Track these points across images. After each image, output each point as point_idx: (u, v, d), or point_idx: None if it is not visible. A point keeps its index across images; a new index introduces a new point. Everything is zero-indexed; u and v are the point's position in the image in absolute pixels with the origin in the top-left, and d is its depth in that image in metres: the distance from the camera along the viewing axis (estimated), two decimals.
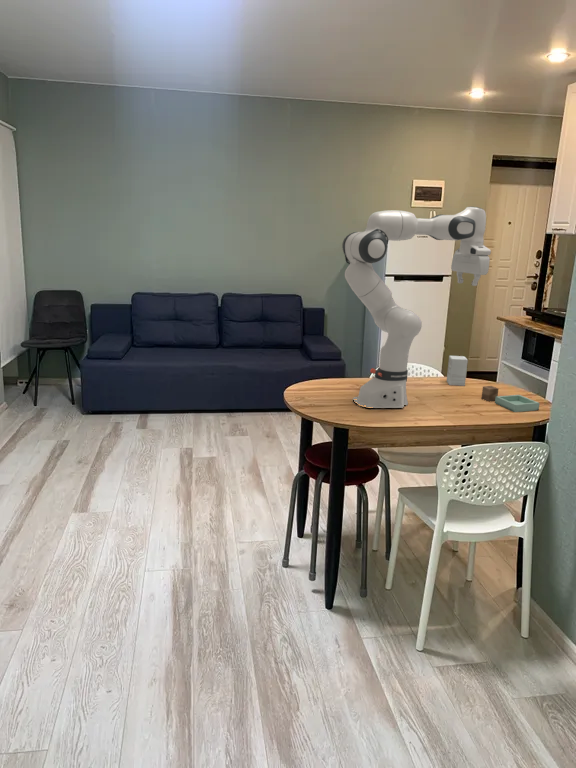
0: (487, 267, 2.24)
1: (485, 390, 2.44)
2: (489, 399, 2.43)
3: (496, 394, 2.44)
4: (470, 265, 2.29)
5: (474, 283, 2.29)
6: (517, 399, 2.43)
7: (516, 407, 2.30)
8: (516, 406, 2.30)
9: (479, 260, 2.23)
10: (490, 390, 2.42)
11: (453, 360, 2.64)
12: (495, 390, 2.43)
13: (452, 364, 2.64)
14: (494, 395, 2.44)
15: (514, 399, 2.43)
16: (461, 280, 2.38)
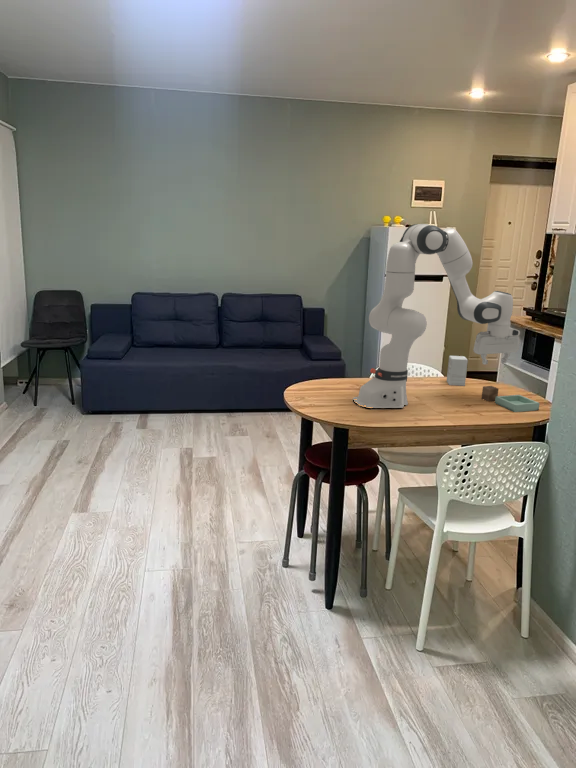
0: None
1: (485, 390, 2.44)
2: (489, 399, 2.43)
3: (496, 394, 2.44)
4: (506, 346, 2.39)
5: None
6: (517, 399, 2.43)
7: (516, 407, 2.30)
8: (516, 406, 2.30)
9: (519, 339, 2.40)
10: (490, 390, 2.42)
11: (453, 360, 2.64)
12: (495, 390, 2.43)
13: (452, 364, 2.64)
14: (494, 395, 2.44)
15: (514, 399, 2.43)
16: None
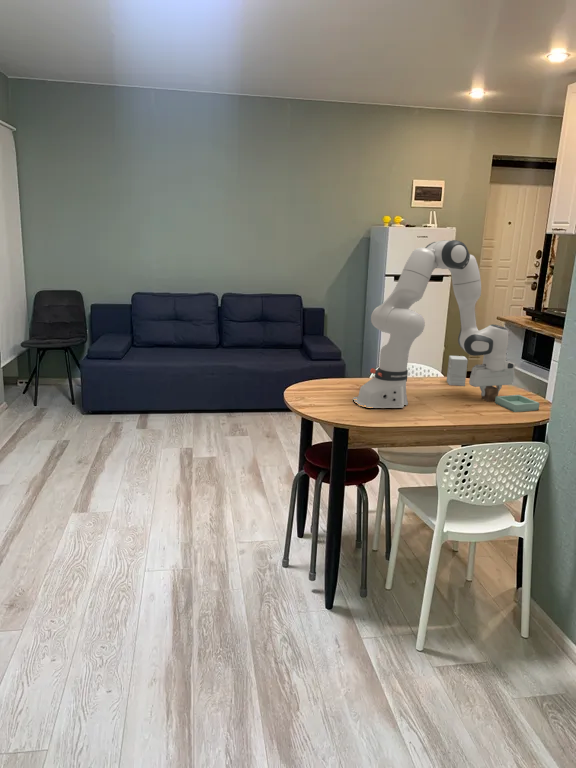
0: None
1: (485, 390, 2.44)
2: (489, 399, 2.43)
3: (496, 394, 2.44)
4: (501, 378, 2.43)
5: None
6: (517, 399, 2.43)
7: (516, 407, 2.30)
8: (516, 406, 2.30)
9: (514, 372, 2.44)
10: (490, 390, 2.42)
11: (453, 360, 2.64)
12: (495, 390, 2.43)
13: (452, 364, 2.64)
14: (494, 395, 2.44)
15: (514, 399, 2.43)
16: None
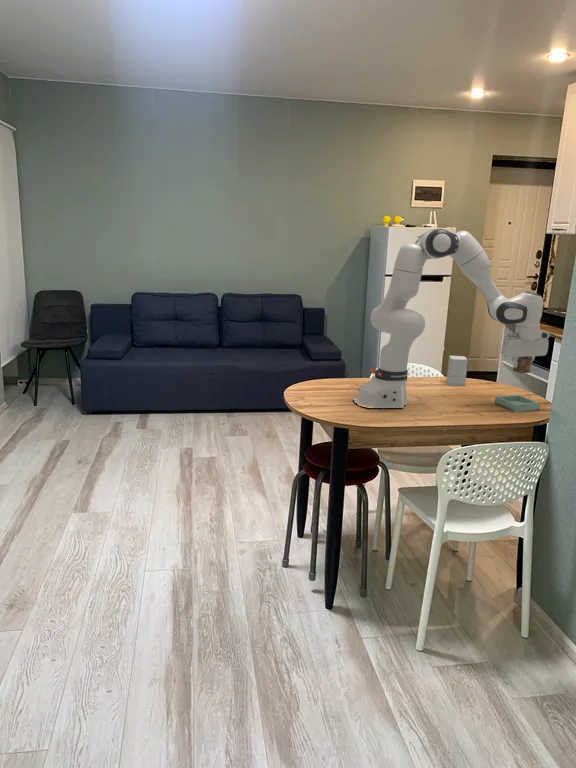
0: None
1: (517, 361, 2.32)
2: (522, 370, 2.31)
3: (529, 365, 2.31)
4: (535, 349, 2.31)
5: None
6: (517, 399, 2.43)
7: (516, 407, 2.30)
8: (516, 406, 2.30)
9: (548, 342, 2.31)
10: (523, 361, 2.30)
11: (453, 360, 2.64)
12: (528, 361, 2.31)
13: (452, 364, 2.64)
14: (527, 366, 2.31)
15: (514, 399, 2.43)
16: None
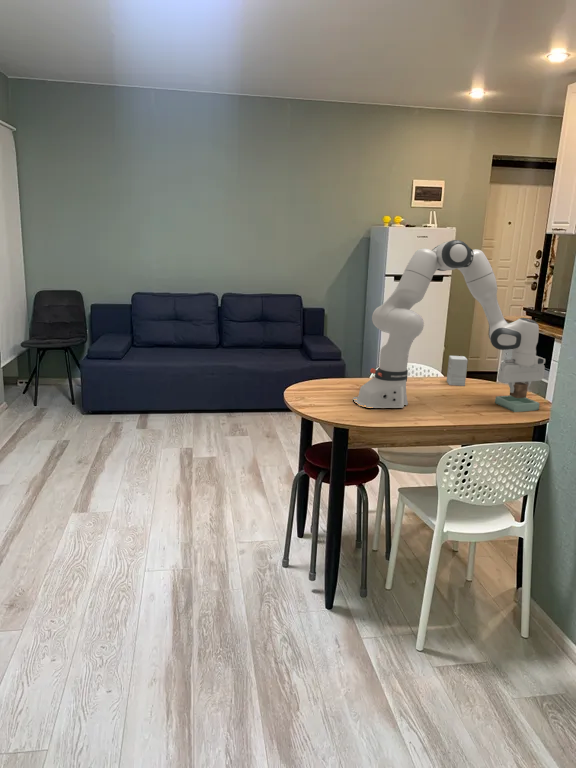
0: None
1: (514, 386, 2.35)
2: (518, 395, 2.34)
3: (525, 390, 2.34)
4: (531, 374, 2.34)
5: None
6: (517, 399, 2.43)
7: (516, 407, 2.30)
8: (516, 406, 2.30)
9: (544, 368, 2.34)
10: (519, 386, 2.33)
11: (453, 360, 2.64)
12: (524, 386, 2.34)
13: (452, 364, 2.64)
14: (523, 391, 2.34)
15: (514, 399, 2.43)
16: None
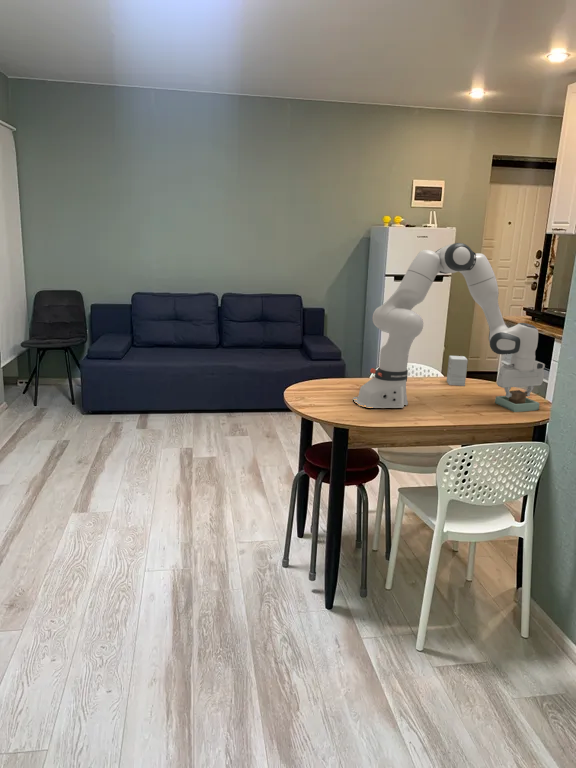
0: None
1: (512, 395, 2.36)
2: None
3: (524, 399, 2.35)
4: (530, 379, 2.34)
5: None
6: None
7: (516, 407, 2.30)
8: (516, 406, 2.30)
9: (543, 373, 2.35)
10: (518, 395, 2.34)
11: (453, 360, 2.64)
12: (523, 395, 2.34)
13: (452, 364, 2.64)
14: (522, 400, 2.35)
15: None
16: None
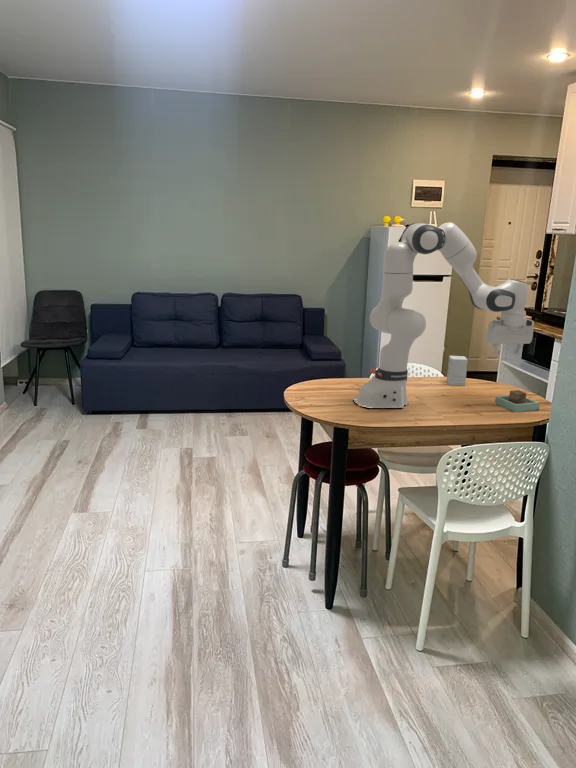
0: None
1: (512, 395, 2.36)
2: None
3: (524, 399, 2.35)
4: (519, 336, 2.33)
5: None
6: None
7: (516, 407, 2.30)
8: (516, 406, 2.30)
9: (532, 330, 2.34)
10: (518, 395, 2.34)
11: (453, 360, 2.64)
12: (523, 395, 2.34)
13: (452, 364, 2.64)
14: (522, 400, 2.35)
15: None
16: None
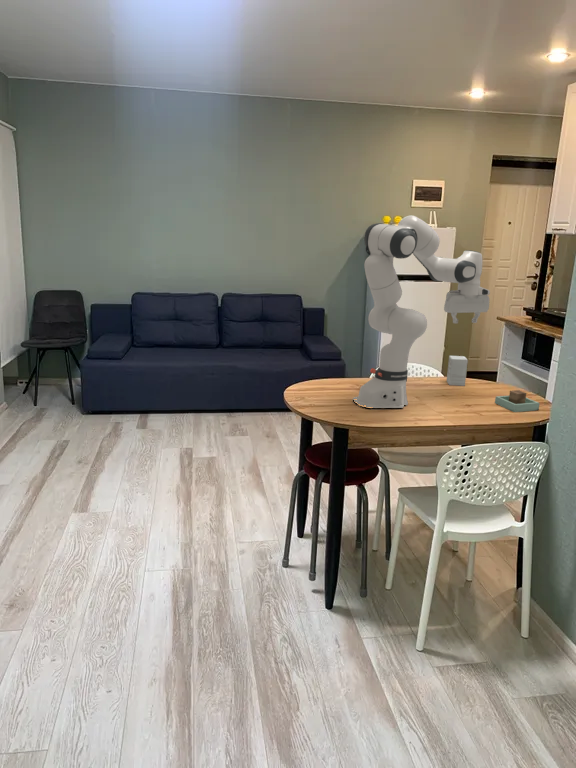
0: None
1: (512, 395, 2.36)
2: None
3: (524, 399, 2.35)
4: (476, 305, 2.44)
5: None
6: None
7: (516, 407, 2.30)
8: (516, 406, 2.30)
9: None
10: (518, 395, 2.34)
11: (453, 360, 2.64)
12: (523, 395, 2.34)
13: (452, 364, 2.64)
14: (522, 400, 2.35)
15: None
16: None
